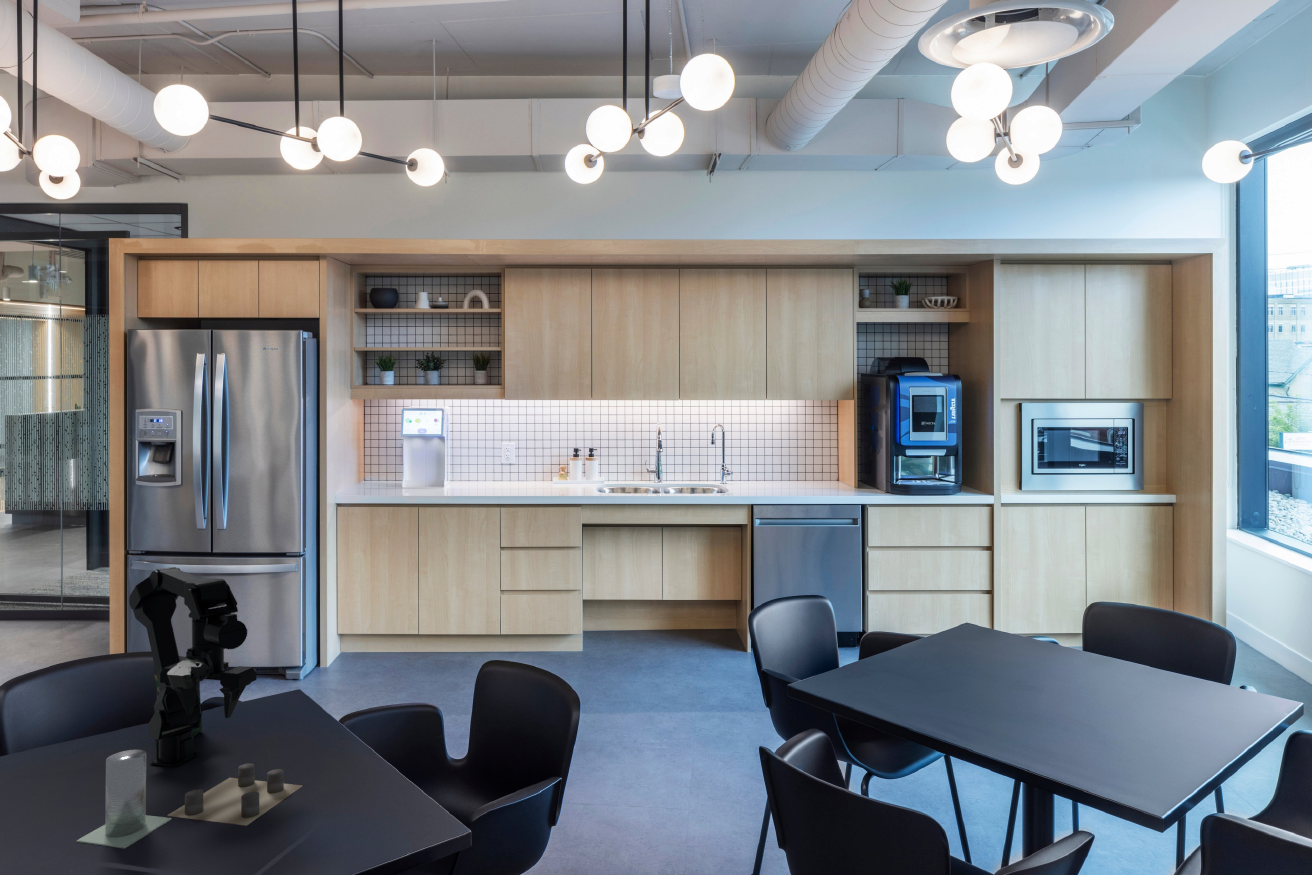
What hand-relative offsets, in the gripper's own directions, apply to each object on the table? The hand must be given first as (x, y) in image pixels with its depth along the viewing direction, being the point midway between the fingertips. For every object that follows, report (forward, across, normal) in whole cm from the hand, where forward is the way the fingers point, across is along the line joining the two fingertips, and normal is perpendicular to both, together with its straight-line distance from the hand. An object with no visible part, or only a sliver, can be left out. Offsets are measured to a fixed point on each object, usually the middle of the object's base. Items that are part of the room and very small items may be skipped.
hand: (208, 715), depth 162 cm
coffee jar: (+13, -24, +18) cm, 33 cm away
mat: (+13, +14, -8) cm, 20 cm away
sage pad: (+13, +2, -22) cm, 26 cm away
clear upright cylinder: (+12, +2, -22) cm, 25 cm away
